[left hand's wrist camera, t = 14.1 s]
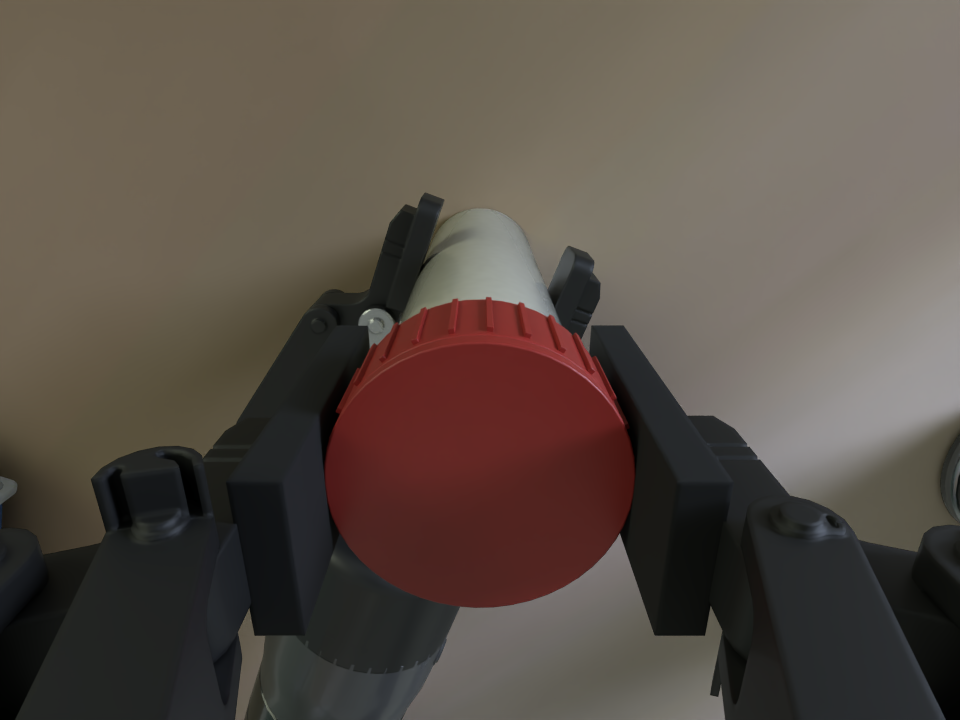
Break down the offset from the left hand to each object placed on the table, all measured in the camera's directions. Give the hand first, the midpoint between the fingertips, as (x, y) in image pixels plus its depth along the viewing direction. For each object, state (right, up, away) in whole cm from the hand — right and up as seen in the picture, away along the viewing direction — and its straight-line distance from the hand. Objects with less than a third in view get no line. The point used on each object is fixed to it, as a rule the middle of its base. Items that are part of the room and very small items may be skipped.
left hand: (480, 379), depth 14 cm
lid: (0, -2, -4) cm, 4 cm away
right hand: (+1, +5, +5) cm, 7 cm away
